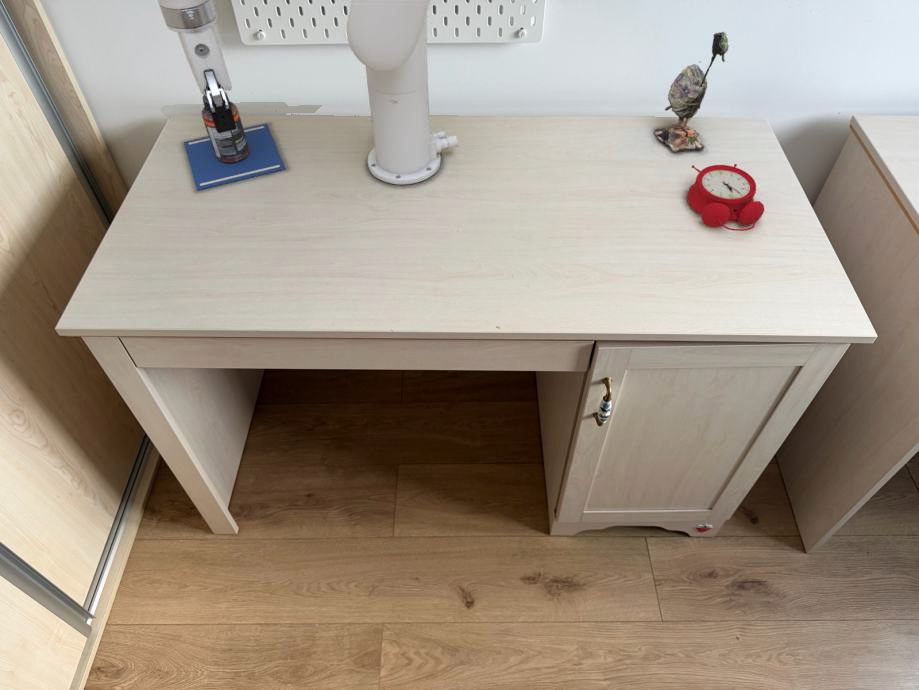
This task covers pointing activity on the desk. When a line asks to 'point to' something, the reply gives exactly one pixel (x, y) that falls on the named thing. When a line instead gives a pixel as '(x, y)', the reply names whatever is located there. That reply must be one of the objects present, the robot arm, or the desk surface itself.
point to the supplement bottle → (226, 135)
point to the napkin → (255, 164)
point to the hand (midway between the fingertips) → (221, 115)
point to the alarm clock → (725, 196)
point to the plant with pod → (689, 100)
